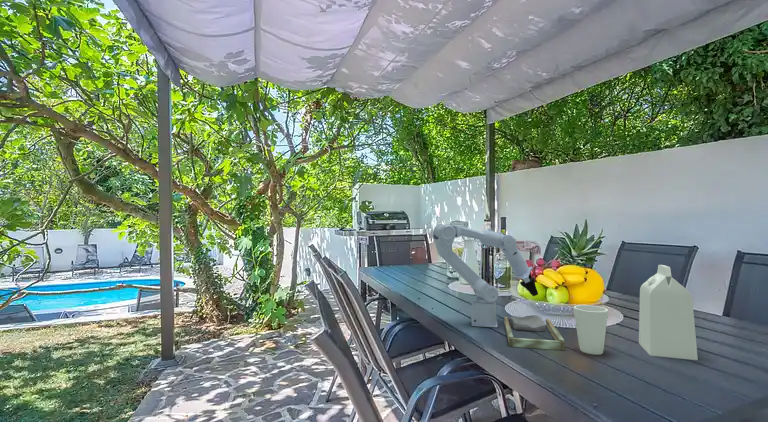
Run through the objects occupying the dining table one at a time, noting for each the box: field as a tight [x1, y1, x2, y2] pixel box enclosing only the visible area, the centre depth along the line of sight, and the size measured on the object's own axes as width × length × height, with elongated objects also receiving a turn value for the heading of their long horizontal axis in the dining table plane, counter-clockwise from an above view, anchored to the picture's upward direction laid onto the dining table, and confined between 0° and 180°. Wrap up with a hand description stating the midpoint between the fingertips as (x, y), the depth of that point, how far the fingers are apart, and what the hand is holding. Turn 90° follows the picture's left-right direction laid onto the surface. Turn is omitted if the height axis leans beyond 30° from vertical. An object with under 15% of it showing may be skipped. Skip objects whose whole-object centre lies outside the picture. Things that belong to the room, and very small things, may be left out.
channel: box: [503, 316, 566, 351], centre depth 133 cm, size 17×28×3 cm, turn 165°
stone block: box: [508, 314, 547, 333], centre depth 142 cm, size 12×5×10 cm
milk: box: [638, 264, 698, 361], centre depth 116 cm, size 12×12×26 cm
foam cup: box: [573, 304, 609, 356], centre depth 117 cm, size 10×9×13 cm
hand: (533, 291), depth 150 cm, fingers open, 7 cm apart
